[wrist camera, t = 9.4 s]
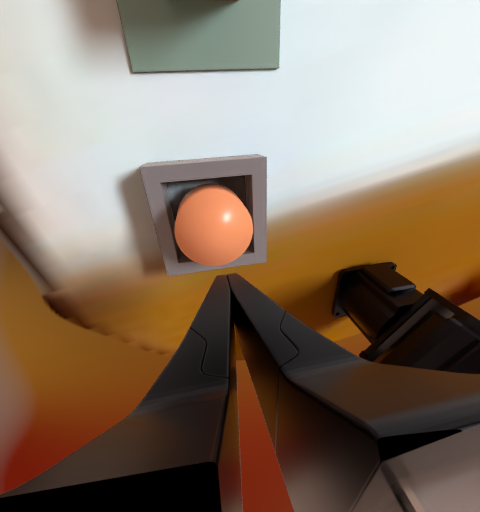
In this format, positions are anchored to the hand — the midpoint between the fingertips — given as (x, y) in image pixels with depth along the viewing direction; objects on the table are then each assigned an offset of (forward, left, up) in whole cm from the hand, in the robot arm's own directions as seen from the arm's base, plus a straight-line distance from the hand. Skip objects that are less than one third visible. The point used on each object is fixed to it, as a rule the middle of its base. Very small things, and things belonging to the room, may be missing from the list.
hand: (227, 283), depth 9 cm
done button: (0, 0, -9) cm, 9 cm away
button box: (0, 0, -10) cm, 10 cm away
